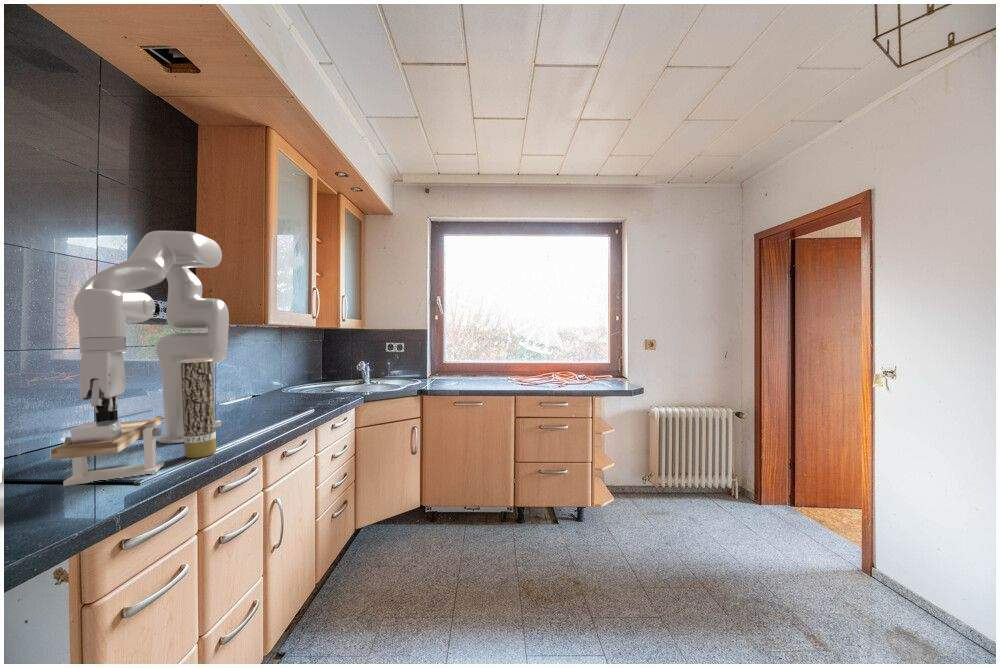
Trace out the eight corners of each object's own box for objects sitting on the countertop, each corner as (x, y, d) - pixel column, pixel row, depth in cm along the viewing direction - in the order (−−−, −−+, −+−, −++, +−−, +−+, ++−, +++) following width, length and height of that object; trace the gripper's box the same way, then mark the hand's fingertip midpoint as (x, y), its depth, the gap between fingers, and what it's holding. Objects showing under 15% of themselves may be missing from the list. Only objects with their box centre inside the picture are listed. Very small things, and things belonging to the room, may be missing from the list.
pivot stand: (75, 477, 98) (73, 433, 97) (165, 465, 104) (163, 424, 104) (61, 486, 92) (59, 439, 92) (157, 473, 99) (155, 430, 99)
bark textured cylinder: (188, 453, 114) (184, 359, 114) (218, 449, 117) (215, 357, 116) (181, 460, 108) (177, 361, 107) (213, 456, 111) (209, 359, 110)
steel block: (86, 441, 92) (85, 422, 92) (122, 437, 94) (121, 419, 94) (71, 449, 86) (70, 429, 86) (110, 444, 89) (109, 425, 89)
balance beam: (113, 439, 109) (112, 418, 109) (162, 434, 113) (161, 414, 113) (52, 475, 83) (51, 447, 83) (118, 467, 87) (116, 441, 87)
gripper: (97, 345, 100) (100, 424, 100) (62, 348, 86) (67, 439, 86) (137, 343, 103) (141, 420, 103) (110, 346, 89) (115, 435, 89)
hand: (107, 429), depth 95 cm, fingers closed
